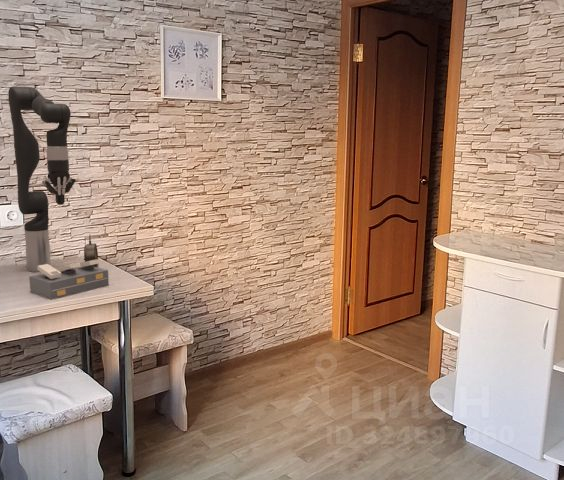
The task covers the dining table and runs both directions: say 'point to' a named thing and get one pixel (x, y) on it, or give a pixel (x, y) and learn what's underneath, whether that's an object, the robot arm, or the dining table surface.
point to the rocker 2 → (69, 267)
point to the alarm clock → (90, 252)
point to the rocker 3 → (89, 263)
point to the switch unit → (69, 282)
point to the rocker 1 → (49, 271)
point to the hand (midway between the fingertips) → (60, 204)
